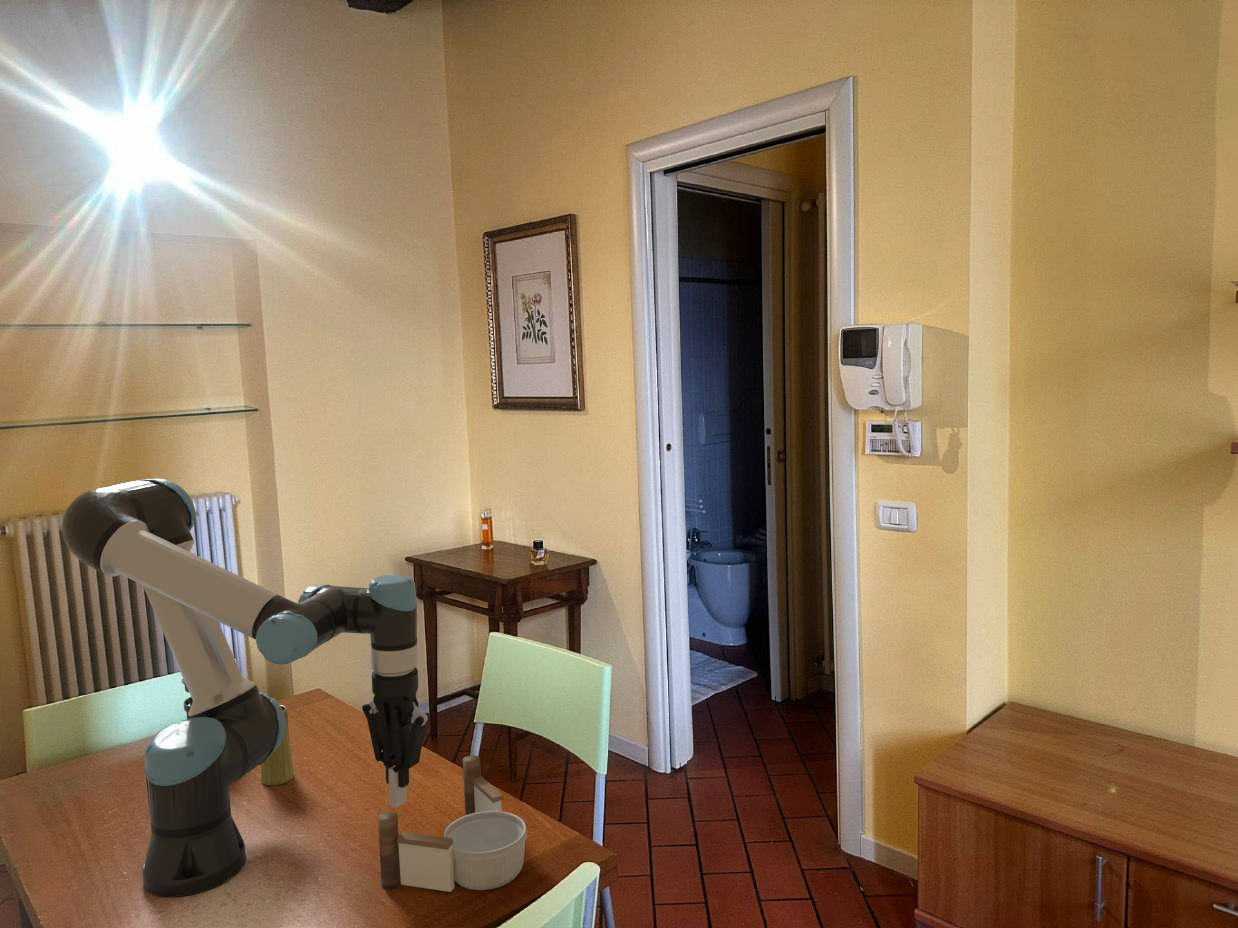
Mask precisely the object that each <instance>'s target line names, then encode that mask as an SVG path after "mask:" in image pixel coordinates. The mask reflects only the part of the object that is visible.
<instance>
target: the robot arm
mask: <svg viewBox="0 0 1238 928" xmlns="http://www.w3.org/2000/svg"><path fill="white" fill-rule="evenodd" d="M195 508H196V507H195V505H194V502H193V500H192V498H191V496H190V495H189V494H188V493H187V491H186V490H185V489H183V488H182V486H180V485H179V484H177V483H176V482H173V481H171V480H169V479H164V478H141V479H138V480H134V481H129V482H125V483H124V482H123V483H120V484H119V483H118V484H116V485H115V484H114V485H110V486H104V487H97V488H93V489H91V490H87V491H86V492H84V493H81V494H80V495H78V496H77V497H76V498H75V499H74V500H73V501H71V503H70V504H69V506H68V507H66V509H65V510H66V511H65V512H64V514H63V518H62V520H61V521H62V523H61V532H62V533H61V534H62V536H63V541H64V544H65V545H66V547H67V549H68V550H69V551H70V552H71V553H72V554H73V555H74V556H75V557H76V559H78V560H79V561H80V562H82V563H83V564H85V565H87V566H88V567H90V568H92V569H93V570H96V571H98V572H100V573H101V574H104V575H105V576H108V577H117V576H120V575H122V576H123V577H126V578H128V579H130V580H132V581H134V582H136V583H137V584H140V585H142V587H143V590H144V591H145V593H146V596H147V599H148V600H149V602H150V605H151V607H152V610H153V612H154V614H155V617H156V618H157V621H158V623H159V624H158V625H159V626H160V628H161V630H162V633H163V635H164V637H165V640H166V642H167V645H168V646H169V649H170V651H171V653H172V655H173V658H174V660H175V663H176V664H177V667H178V669H179V671H180V674H181V677H182V679H184V681H185V683H186V686H187V688H188V690H189V694H190V697H192V699H193V703H192V706H191V708H190V710H189V712H188V715H189V718H190V719H187V718H186V719H183V720H181V722H179V723H177V722H174V723H172V724H170V725H168V726H165V727H164V728H163V729H160V730H159V731H158V732H157V733H156V734H154V736H152V738H151V739H150V740H149V741H148V743H147V745H146V748H145V753H144V754H145V755H144V757H145V762H144V765H143V766H144V768H143V769H144V776H145V780H146V781H145V783H146V789H147V798H148V799H147V800H148V810H149V819H150V828H151V829H150V830H151V831H150V832H151V835H150V839H149V843H148V847H147V852H146V856H145V860H144V863H143V865H142V882H143V887H144V889H145V890H146V891H147V892H148V893H150V894H153V895H156V896H159V897H170V898H171V897H182V896H183V897H185V896H189V895H194V894H198V893H202V892H205V891H207V890H211V889H213V888H215V887H218V886H220V885H222V884H224V883H225V882H227V881H229V880H231V878H234V876H236V875H237V874H238V873H239V872H240V871H241V870H242V869H243V867H244V866H245V864H246V861H247V851H246V850H247V849H246V843H245V840H244V839H243V836H242V835H241V832H240V831H239V828H238V826H237V824H236V823H235V820H234V819H233V816H232V811H231V809H232V808H231V797H230V788H231V786H233V785H234V784H235V783H237V782H238V781H239V780H241V779H242V778H243V777H245V776H247V774H249V773H250V772H251V771H253V770H254V769H255V768H256V767H258V766H261V764H262V763H264V762H265V761H266V760H267V759H268V758H269V757H270V756H271V754H272V753H273V752H275V751H276V749H277V748H278V747H279V746H280V744H281V742H282V739H283V737H284V734H285V717H284V713H283V710H282V708H281V706H280V705H281V704H279V702H278V701H277V700H276V699H275V697H270V696H269V694H267V693H266V692H265V693H264V692H262V691H260V689H259V688H258V686H257V684H256V682H255V681H252V680H249V679H246V678H244V677H243V675H242V673H241V670H240V668H239V666H238V664H237V663H238V662H237V661H236V659H235V657H234V654H233V652H232V650H231V647H230V645H229V642H228V641H227V638H226V636H225V633H224V631H223V629H222V626H221V624H222V625H224V626H227V627H229V628H230V629H233V630H234V631H237V632H239V633H241V634H243V635H245V636H247V637H249V638H251V639H253V640H255V644H256V646H257V647H256V648H257V649H258V652H260V654H261V655H262V656H263V657H264V659H265V660H266V661H268V663H269V662H270V663H272V664H274V665H287V664H291V663H294V662H296V661H299V660H300V659H303V658H305V657H307V656H308V655H309V654H310V653H312V652H313V651H315V650H316V649H317V648H319V647H320V646H322V645H323V644H326V643H327V642H329V641H331V640H332V639H334V638H336V637H337V636H339V635H340V634H343V633H348V634H363V635H364V634H368V635H369V637H370V657H371V658H370V662H371V663H370V664H371V666H370V667H371V668H370V669H371V670H372V671H371V672H372V673H371V691H372V694H373V695H374V696H373V698H372V700H371V701H369V702H367V703H366V704H363V705H362V707H361V709H362V712H363V714H364V716H365V718H366V720H367V725H368V730H369V735H370V739H371V740H370V741H371V744H372V749H373V754H374V758H375V760H376V761H377V762H381V763H383V765H384V767H385V781H386V784H387V785H388V798H389V799H388V801H389V802H388V804H389V807H394V808H398V807H400V806H401V805H402V804H404V803H405V802H407V800H408V796H407V794H408V792H407V791H408V790H407V786H409V784H410V769H411V768H413V767H414V766H416V765H417V764H419V763H420V758H421V753H422V748H423V743H424V738H425V733H426V727H427V724H428V722H429V721H430V720H431V714H430V713H429V712H428V711H427V712H425V713H424V712H423V711H422V710H421V709H420V708H419V701H418V699H417V693H418V689H419V669H418V668H417V667H418V663H419V662H418V627H417V626H418V621H417V620H418V613H417V611H418V609H417V608H418V601H417V593H416V592H417V591H416V583H415V581H414V580H413V578H411V577H409V576H407V575H403V574H402V575H401V574H393V575H390V574H389V575H386V574H385V575H381V576H376V577H374V578H372V579H371V580H370V581H369V583H368V584H369V585H368V588H367V587H355V586H353V587H352V586H339V585H333V584H324V585H310V586H308V587H307V588H305V589H304V590H303V592H302V594H301V595H300V596H299V598H298V601H297V602H295V601H293V600H290V599H288V598H286V597H284V596H281V595H279V594H277V593H275V592H273V591H272V590H269V589H267V588H265V587H262V586H261V585H259V584H256V583H255V582H252V581H250V580H248V579H246V578H244V577H242V576H240V575H238V574H236V573H233V572H232V571H229V570H227V569H226V568H223V567H222V566H219V565H218V564H216V563H213V562H211V561H209V560H208V559H205V558H203V557H201V556H199V555H197V554H194V553H192V551H191V550H192V548H193V546H194V544H195V540H194V537H193V535H192V533H191V530H192V529H193V527H194V525H195V521H194V520H195V519H196V509H195Z"/></svg>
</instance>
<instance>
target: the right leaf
mask: <svg viewBox="0 0 1238 928" xmlns="http://www.w3.org/2000/svg"><path fill="white" fill-rule="evenodd" d="M472 784H473V785H474V797H475V813H477V812H483V811H502V812H503V809H502V808H503V807H502V801H503V800H504V795H503V794H502V793H501V792H500V791H499V790H497V788H496V787H494V786H493V785H492V784H491V783H489V781H487V780H486V779H485V778H484V777H483V776H482V775H481V777H478V778H475V779H472Z"/></svg>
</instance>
